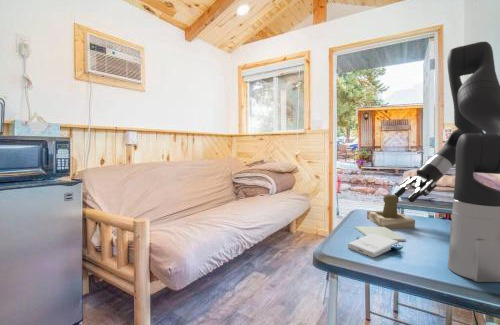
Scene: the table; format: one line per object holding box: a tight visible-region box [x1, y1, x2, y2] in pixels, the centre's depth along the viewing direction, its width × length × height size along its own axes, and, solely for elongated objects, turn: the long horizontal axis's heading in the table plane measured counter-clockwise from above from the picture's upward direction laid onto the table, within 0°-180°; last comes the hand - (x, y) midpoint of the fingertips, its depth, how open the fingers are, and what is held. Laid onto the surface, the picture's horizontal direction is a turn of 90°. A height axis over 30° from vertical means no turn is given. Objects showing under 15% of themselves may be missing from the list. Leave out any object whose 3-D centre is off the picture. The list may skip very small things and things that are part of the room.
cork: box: [382, 193, 400, 218], centre depth 102 cm, size 6×6×11 cm
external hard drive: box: [347, 233, 400, 259], centre depth 76 cm, size 2×8×12 cm
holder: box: [366, 210, 416, 229], centre depth 102 cm, size 12×12×3 cm
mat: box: [354, 225, 407, 242], centre depth 89 cm, size 12×11×1 cm
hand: (402, 198), depth 101 cm, fingers open, 8 cm apart
